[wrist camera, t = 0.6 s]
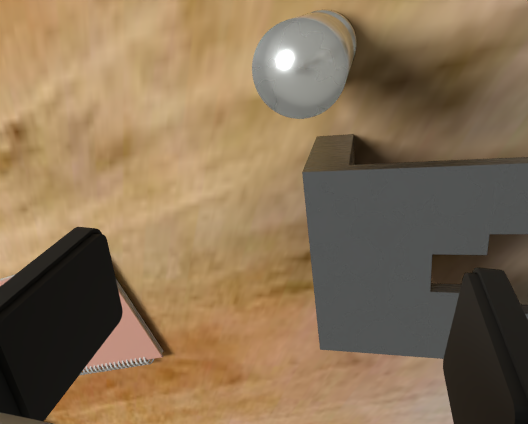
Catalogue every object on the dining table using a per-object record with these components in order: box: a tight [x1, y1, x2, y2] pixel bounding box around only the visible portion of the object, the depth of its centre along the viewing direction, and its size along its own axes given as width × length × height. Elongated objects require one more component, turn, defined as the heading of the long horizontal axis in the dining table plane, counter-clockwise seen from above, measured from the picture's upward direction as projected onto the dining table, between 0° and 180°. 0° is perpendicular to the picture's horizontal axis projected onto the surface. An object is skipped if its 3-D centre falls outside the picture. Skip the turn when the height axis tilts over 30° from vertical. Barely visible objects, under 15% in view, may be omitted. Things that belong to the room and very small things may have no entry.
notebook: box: [0, 274, 163, 375], centre depth 54 cm, size 27×17×2 cm, turn 114°
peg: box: [252, 10, 357, 119], centre depth 26 cm, size 5×5×12 cm
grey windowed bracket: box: [302, 134, 528, 359], centre depth 32 cm, size 22×16×8 cm
